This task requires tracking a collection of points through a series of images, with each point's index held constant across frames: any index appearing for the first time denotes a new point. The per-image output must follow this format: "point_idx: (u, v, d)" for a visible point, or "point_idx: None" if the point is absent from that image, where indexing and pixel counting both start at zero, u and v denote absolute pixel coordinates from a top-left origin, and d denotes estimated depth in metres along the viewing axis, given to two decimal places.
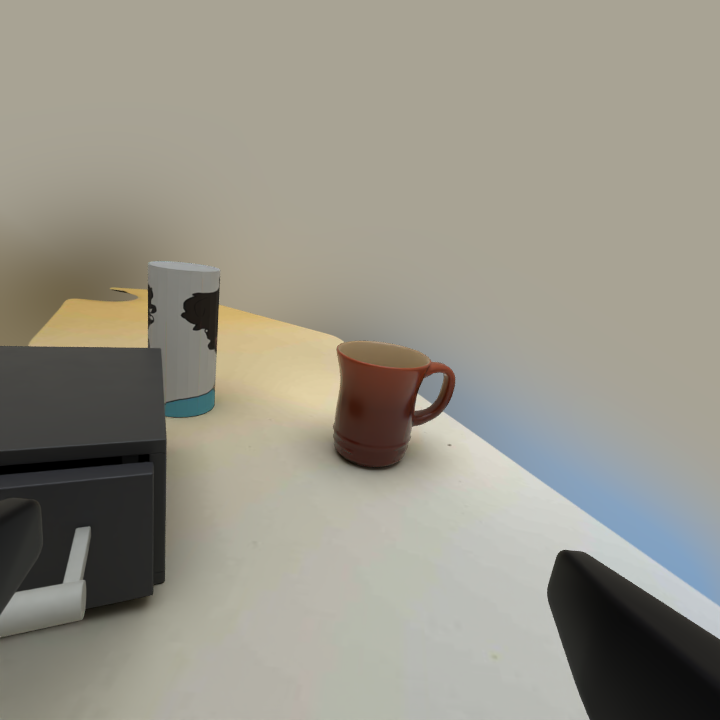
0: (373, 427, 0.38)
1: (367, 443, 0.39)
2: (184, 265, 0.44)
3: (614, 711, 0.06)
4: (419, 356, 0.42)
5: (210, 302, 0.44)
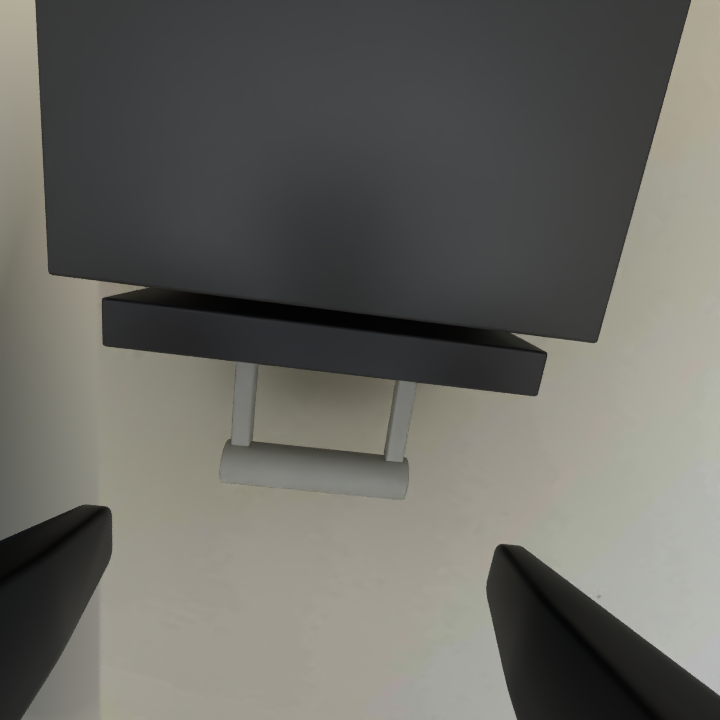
0: None
1: None
2: None
3: (535, 705, 0.06)
4: None
5: None
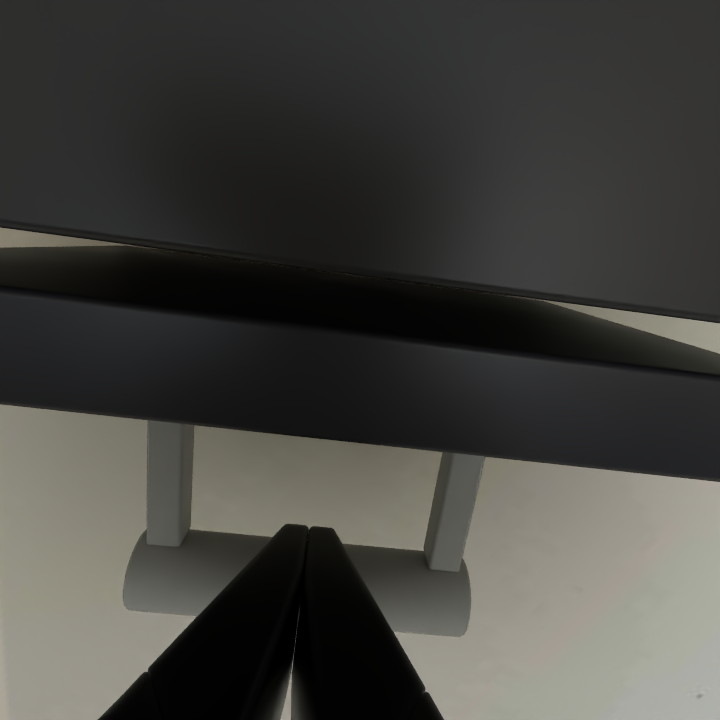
0: None
1: None
2: None
3: (295, 688, 0.06)
4: None
5: None
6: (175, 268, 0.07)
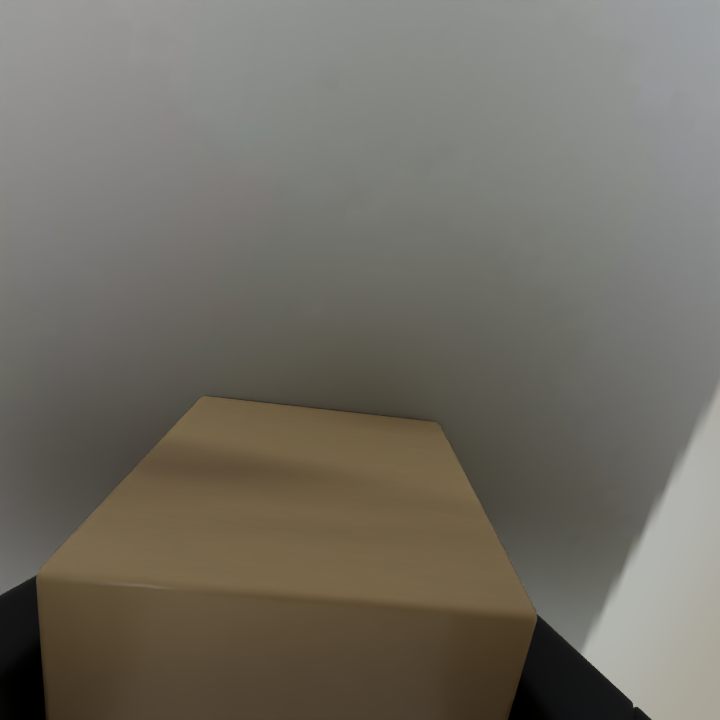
0: None
1: None
2: None
3: None
4: None
5: None
6: None
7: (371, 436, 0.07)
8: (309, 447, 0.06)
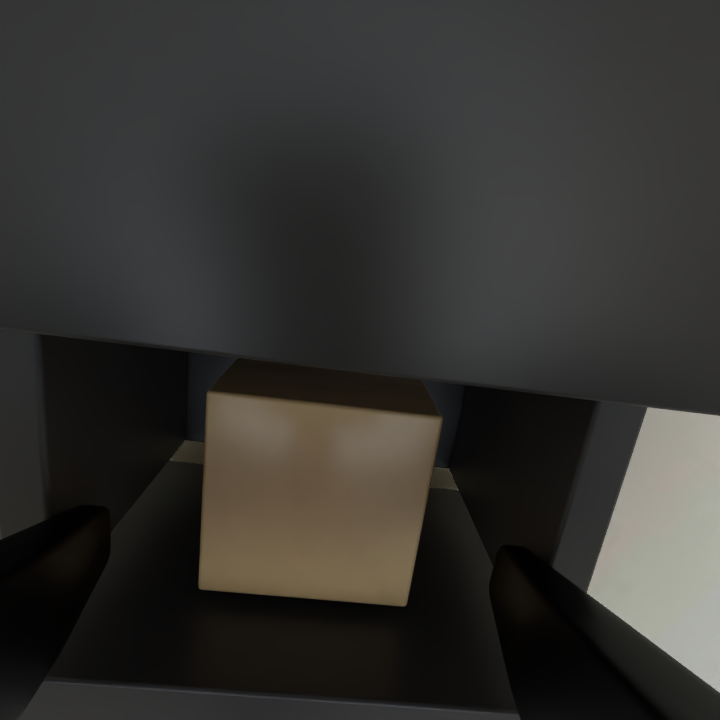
0: None
1: None
2: None
3: (538, 705, 0.06)
4: None
5: None
6: (194, 545, 0.11)
7: None
8: None
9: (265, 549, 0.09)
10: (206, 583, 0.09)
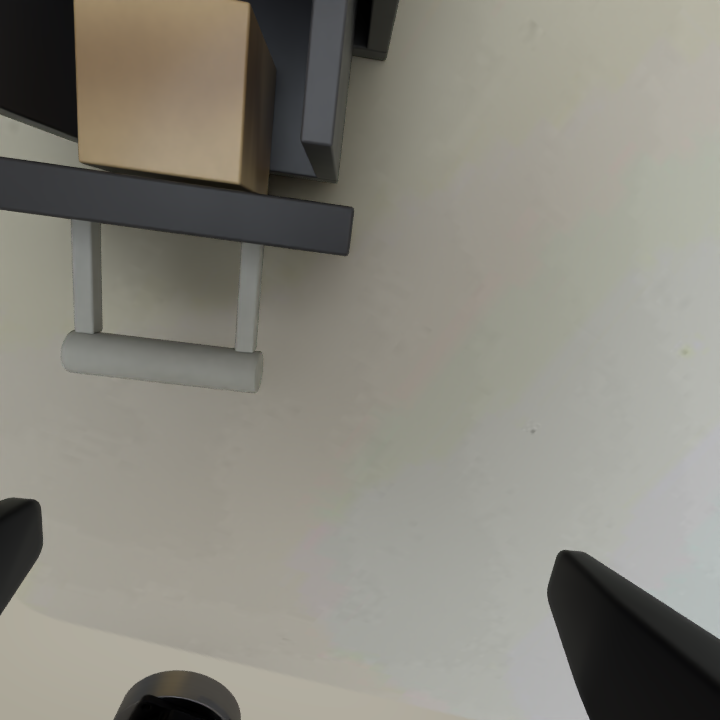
0: None
1: None
2: None
3: (614, 711, 0.06)
4: None
5: None
6: None
7: None
8: None
9: (126, 122, 0.12)
10: (83, 154, 0.12)
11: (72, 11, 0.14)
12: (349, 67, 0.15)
